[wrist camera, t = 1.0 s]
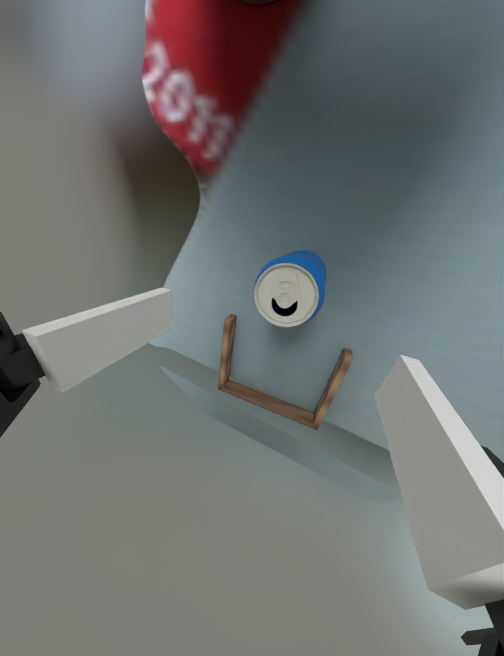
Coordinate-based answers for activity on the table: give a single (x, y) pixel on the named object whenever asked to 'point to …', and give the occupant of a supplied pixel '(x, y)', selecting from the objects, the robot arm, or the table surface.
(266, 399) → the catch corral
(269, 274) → the beverage can
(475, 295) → the table surface
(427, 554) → the robot arm
